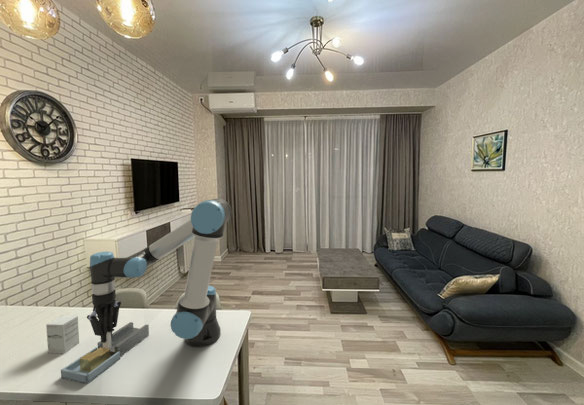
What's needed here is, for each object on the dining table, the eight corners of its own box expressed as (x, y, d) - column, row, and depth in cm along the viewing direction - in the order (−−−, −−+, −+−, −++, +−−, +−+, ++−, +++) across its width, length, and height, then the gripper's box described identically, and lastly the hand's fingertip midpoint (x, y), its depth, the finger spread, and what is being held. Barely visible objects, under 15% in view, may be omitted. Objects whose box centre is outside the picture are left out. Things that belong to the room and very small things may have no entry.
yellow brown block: (99, 354, 97) (90, 360, 94) (100, 365, 97) (91, 372, 94) (89, 352, 98) (79, 358, 95) (89, 363, 99) (80, 369, 95)
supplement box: (47, 353, 105) (45, 324, 104) (64, 342, 112) (62, 314, 111) (64, 354, 105) (62, 324, 104) (80, 342, 112) (78, 315, 111)
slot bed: (148, 335, 118) (148, 324, 117) (118, 358, 102) (117, 346, 102) (131, 332, 120) (130, 322, 120) (98, 354, 105) (97, 343, 104)
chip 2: (110, 357, 102) (110, 349, 102) (99, 365, 98) (99, 356, 97) (100, 355, 103) (100, 347, 103) (89, 363, 99) (88, 354, 98)
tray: (120, 358, 102) (119, 351, 102) (87, 384, 89) (87, 375, 89) (96, 354, 105) (95, 347, 105) (61, 377, 92) (60, 370, 92)
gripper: (111, 284, 108) (114, 337, 110) (79, 297, 95) (83, 357, 97) (125, 285, 106) (128, 339, 108) (95, 299, 94) (99, 360, 96)
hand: (107, 347), depth 103 cm, fingers closed
